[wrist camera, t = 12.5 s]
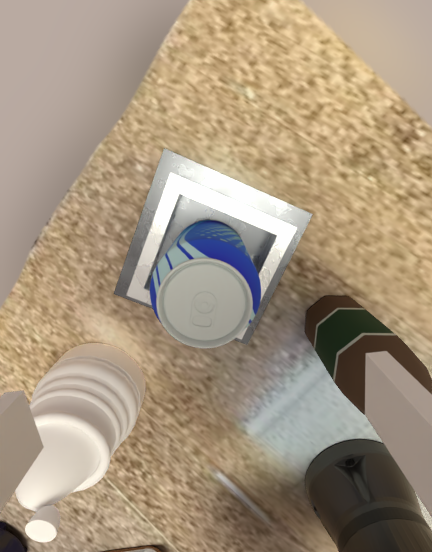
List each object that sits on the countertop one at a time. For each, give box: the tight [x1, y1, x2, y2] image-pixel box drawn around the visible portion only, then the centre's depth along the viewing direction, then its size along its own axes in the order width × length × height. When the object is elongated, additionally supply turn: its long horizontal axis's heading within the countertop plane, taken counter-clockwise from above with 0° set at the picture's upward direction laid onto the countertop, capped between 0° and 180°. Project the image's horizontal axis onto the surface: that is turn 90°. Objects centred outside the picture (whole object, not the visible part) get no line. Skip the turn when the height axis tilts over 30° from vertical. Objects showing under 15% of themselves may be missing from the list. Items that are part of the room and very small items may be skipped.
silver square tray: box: [114, 148, 313, 345], centre depth 35 cm, size 18×18×4 cm
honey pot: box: [15, 343, 146, 542], centre depth 34 cm, size 13×13×18 cm
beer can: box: [150, 220, 261, 348], centre depth 28 cm, size 8×8×16 cm
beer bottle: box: [305, 296, 432, 415], centre depth 28 cm, size 8×8×24 cm
